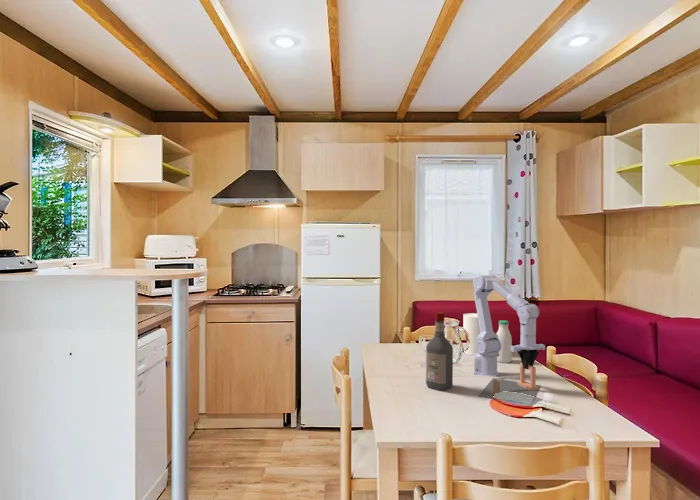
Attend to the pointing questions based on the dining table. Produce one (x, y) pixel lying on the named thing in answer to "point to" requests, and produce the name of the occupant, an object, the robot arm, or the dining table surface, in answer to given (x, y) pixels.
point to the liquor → (439, 358)
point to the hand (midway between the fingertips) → (527, 368)
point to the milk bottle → (504, 342)
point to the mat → (507, 389)
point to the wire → (497, 382)
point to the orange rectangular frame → (530, 385)
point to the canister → (472, 331)
